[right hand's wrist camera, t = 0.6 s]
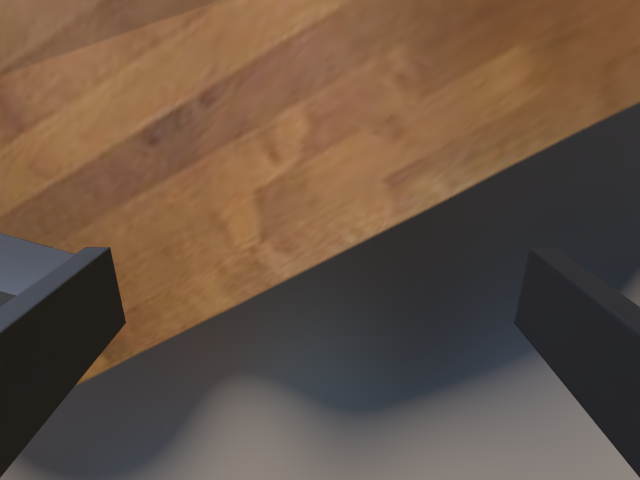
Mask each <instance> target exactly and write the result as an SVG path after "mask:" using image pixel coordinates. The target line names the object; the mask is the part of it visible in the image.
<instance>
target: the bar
mask: <svg viewBox="0 0 640 480" xmlns="http://www.w3.org/2000/svg"><path fill="white" fill-rule="evenodd" d="M74 255H75V254H72V253H68V252H65V251H61V250H58V249H54V248H51V247H47V246H44V245H40V244H37V243H33V242H30V241H26V240H22V239H19V238H15V237H12V236H8V235H5V234H1V233H0V307H1V306H2V305H4V304H5V303H7V302H8V301H10V300H11V299H12V298H14V297H15V296H17V295H18V294H20V293H21V292H22V291H24V290H25V289H27V288H28V287H30V286H31V285H32V284H34V283H35V282H37V281H38V280H40V279H41V278H43V277H44V276H45V275H47V274H48V273H50V272H51V271H53V270H54V269H55V268H57V267H58V266H60V265H61V264H63V263H64V262H65V261H67V260H68V259H70V258H71V257H73V256H74Z"/></svg>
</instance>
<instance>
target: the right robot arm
mask: <svg viewBox="0 0 640 480" xmlns="http://www.w3.org/2000/svg"><path fill="white" fill-rule="evenodd" d="M125 323H126V321H125V316H124V312H123V307H122V302H121V297H120V293H119V288H118V283H117V278H116V274H115V269H114V264H113V259H112V255H111V250H110V247H85V248H84V249H83V250H81V251H80V252H78V253H77V254H75V255H74V256H73V257H71V258H70V259H68V260H67V261H65V262H64V263H63V264H61V265H60V266H58V267H57V268H55V269H54V270H53V271H51V272H50V273H48V274H47V275H45V276H44V277H43V278H41V279H40V280H38V281H37V282H35V283H34V284H32V285H31V286H30V287H28V288H27V289H25V290H24V291H22V292H21V293H20V294H18V295H17V296H15V297H14V298H12V299H11V300H10V301H8V302H7V303H5V304H4V305H2V306H1V307H0V477H1V476H2V475H3V474H4V472H5V471H6V470H7V469H8V467H9V466H10V465H11V464H12V462H13V461H14V460H15V459H16V458H17V456H18V455H19V454H20V453H21V451H22V450H23V449H24V448H25V446H26V445H27V444H28V443H29V441H30V440H31V439H32V438H33V437H34V435H35V434H36V433H37V432H38V430H39V429H40V428H41V427H42V425H43V424H44V423H45V422H46V421H47V419H48V418H49V417H50V416H51V414H52V413H53V412H54V411H55V409H56V408H57V407H58V406H59V405H60V403H61V402H62V401H63V400H64V398H65V397H66V396H67V395H68V393H69V392H70V391H71V390H72V388H73V387H74V386H75V385H76V384H77V382H78V381H79V380H80V379H81V377H82V376H83V375H84V374H85V372H86V371H87V370H88V369H89V368H90V366H91V365H92V364H93V363H94V361H95V360H96V359H97V358H98V356H99V355H100V354H101V353H102V352H103V350H104V349H105V348H106V347H107V345H108V344H109V343H110V342H111V340H112V339H113V338H114V337H115V335H116V334H117V333H118V332H119V331H120V329H121V328H122V327H123V326H124V324H125ZM514 323H515V324H516V326H517V327H518V328H519V329H520V330H521V332H522V333H523V334H524V335H525V337H526V338H527V339H528V340H529V342H530V343H531V344H532V345H533V347H534V348H535V349H536V350H537V352H538V353H539V354H540V355H541V356H542V358H543V359H544V360H545V361H546V362H547V364H548V365H549V366H550V368H551V369H552V370H553V371H554V372H555V374H556V375H557V376H558V377H559V379H560V380H561V381H562V382H563V384H564V385H565V386H566V387H567V388H568V390H569V391H570V392H571V393H572V395H573V396H574V397H575V398H576V400H577V401H578V402H579V403H580V405H581V406H582V407H583V408H584V409H585V411H586V412H587V413H588V414H589V416H590V417H591V418H592V419H593V421H594V422H595V423H596V424H597V425H598V427H599V428H600V429H601V430H602V432H603V433H604V434H605V435H606V437H607V438H608V439H609V440H610V441H611V443H612V444H613V445H614V446H615V448H616V449H617V450H618V451H619V453H620V454H621V455H622V456H623V457H624V459H625V460H626V461H627V462H628V464H629V465H630V466H631V467H632V469H633V470H634V471H635V472H636V474H637V475H638V476H639V477H640V307H639V306H638V305H636V304H635V303H633V302H632V301H630V300H629V299H627V298H626V297H625V296H623V295H622V294H620V293H619V292H618V291H616V290H615V289H613V288H612V287H610V286H609V285H607V284H606V283H605V282H603V281H602V280H600V279H599V278H597V277H596V276H595V275H593V274H592V273H590V272H589V271H587V270H586V269H585V268H583V267H582V266H580V265H579V264H577V263H576V262H575V261H573V260H572V259H570V258H569V257H567V256H566V255H565V254H563V253H562V252H560V251H559V250H557V249H556V248H554V247H530V250H529V255H528V259H527V264H526V269H525V274H524V278H523V283H522V288H521V293H520V297H519V302H518V307H517V312H516V317H515V321H514Z"/></svg>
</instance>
